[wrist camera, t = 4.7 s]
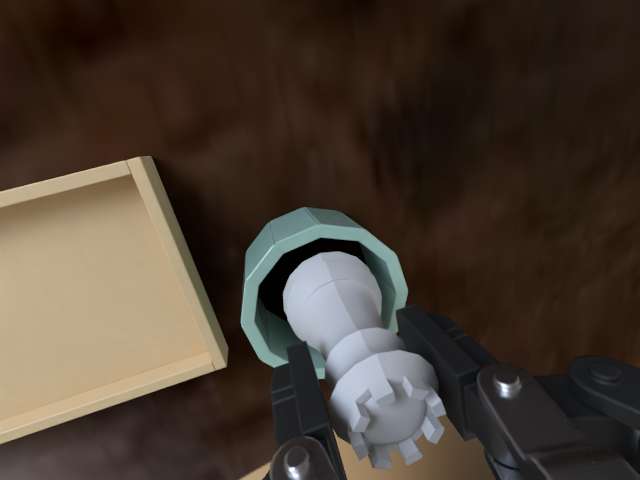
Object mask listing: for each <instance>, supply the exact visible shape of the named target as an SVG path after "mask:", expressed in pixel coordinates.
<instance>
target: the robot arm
mask: <svg viewBox="0 0 640 480" xmlns="http://www.w3.org/2000/svg"><path fill="white" fill-rule="evenodd" d="M395 313H396V320H397V325H398V330H399V335H400V339H402V340H403V343H404V345H405V348H406V350H407V352H410V353H414V354H418V355H420V356H421V357H422V358H424V359H425V360H426V361H427V362H428V363H430V364H431V365H432V366H433V368H434V370H435V373H436V376H437V378H438V381H439V389H438V397H439V398H440V399H441V401H442V404H443V406H444V409H445V411H446V415H447V417H448V418H449V419H450V421H451V422H452V424H453V425H454V426H455V428H456V429H457V431H458V432H459V433H460V435H461V436H462V438H463V439H464V440H465V441H468V440H470V439H473V438H475V437H477V438H478V439H479V440H480V442H481V443H482V444H483V446H484V454H485V458H486V460H487V463H488V465H489V467H490V469H491V471H492V473H493V475H494V477H495V479H496V480H640V439H639V433H640V368H638V367H635V366H632V365H629V364H626V363H623V362H621V361H618V360H615V359H612V358H608V357H604V356H596V355H586V356H580V357H577V358H575V359H573V360H572V361H571V362H570V364H569V368H568V374H562V375H549V376H532V375H531V374H530V373H529V372H527V371H526V370H524V369H522V368H520V367H518V366H515V365H511V364H505V363H499V362H498V361H497V360H496V359H495V358H493V357H492V356H491V355H490V354H489V353H488V352H487V351H486V350H484V349H483V348H482V347H481V346H480V345H479V344H478V343H477V342H475V341H474V340H473V339H472V338H471V337H470V336H467V334H466V333H465V332H464V331H463V330H462V329H461V328H460V329H459V327H458V326H457V325H456V324H455V323H454V322H453V321H452V320H451V319H449V318H448V317H446V316H443V315H441V314H438V313H436V312H434V313H431V314H427V313H426V312H425V311H424V310H423V309H422V308H421V307H420V306H418V305H417V304H412V305H410V306H407V307H404V308H401V309H398V310H396V312H395ZM286 349H287V355H288V361H289V363H286V364H283V365H280V366H277V367H275V369H274V372H273V374H272V377H271V379H270V384H271V394H272V395H271V397H272V405H273V406H272V409H273V421H274V433H275V446H276V452H275V454H274V456H273V458H272V461H271V464H270V469H269V471H268V473H267V474H266V476H265V477H264V478H263V479H262V480H347V478H346V474H345V470H344V467H343V463H342V460H341V456H340V453H339V449H338V446H337V442H336V439H335V435H334V432H333V428H332V426H331V424H330V421H329V414H328V411H327V407H326V404H325V400H324V397H323V393H322V390H321V387H320V383H319V380H318V377H317V373H316V370H315V367H314V364H313V360H312V357H311V354H310V351H309V348H308V344H307V341H303V342H300V343H297V344H294V345H291V346H288V347H286Z"/></svg>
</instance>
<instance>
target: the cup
mask: <svg viewBox="0 0 640 480" xmlns="http://www.w3.org/2000/svg"><path fill="white" fill-rule="evenodd" d="M319 238H329V239H339V240H350V241H359V244H360V247H361V250H362V253H363V255H364V258H365V261H366V264H367V267H368V268H369V270H370V272H371V274H373V275H374V276H375V279H376V281H377V284H378V286H379V289H380V291H381V295H382V303H381V320H382V322H383V324H384V326H385V328H386V329H387V330H389V331H392V332H393V333H394V334H396V333H397V332H398V325H397V320H396V313H395V312H396V310H398V309H401V308H404V307H405V303H406V299H407V295H408V292H407V291H408V288H407V285H406V282H405V279H404V276H403V273H402V269H401V266H400V263H399V260H398V257H397V255H396V254H395V253H394V252H393V251H392V250H391V249H389V248H388V247H387V246H386V245H384V244H383V243H382V242H381V241H379V240H378V239H377V238H376V237H374V236H373V235H372V234H371V233H369V232H368V231H367V230H366V229H364V228H363V227H361V226H360V225H359V224H357V223H356V222H354V221H353V220H351V219H350V218H349V217H347V216H346V215H344V214H343V213H342V212H339V211H334V210H326V209H318V208H309V207H304V208H300V209H297V210H295V211H293V212H290V213H288V214H286V215H283V216H281V217H279V218H276V219H274V220H272V221H270V222H269V223H267V225H266V226H265V227H264V228H263V230H262V231H261V232H260V234H259V235H258V236H257V238H256V239H255V240H254V242H253V243H252V244H251V246H250V247H249V248H248V249H247V252H246V255H245V265H244V275H243V284H242V304H241V326H242V328H243V330H244V332H245V334H246V336H247V337H248V339H249V341H250V343H251V345H252V347H253V348H254V350H255V352H256V354H257V356H258V358H259V359H261V361H263V362H265V363H266V364H268V365H270V366H272V367H274V368H275V367H277V366H280V365H283V364H286V363H289V361H288V355H287V349H286V347H288V346H291V345H294V344H297V343H300V342H303V341H302V340H301V339H299V338H298V337H297V335H296V334H295V332H294V331H293V329H292V327H291V325H290V323H288V322H286V321H284V320H283V319H281V318H279V317H278V316H276V315H274V314H273V313H271V312H269V311H268V310H266V308H265V306H264V304H263V302H262V300H261V298H260V296H259V294H258V289H259V285H260V283H261V282H262V281H263V279H264V278H265V277H266V276H267V274H268V273H269V272H270V270H271V269H272V268H273V266H274V265H275V264H276V263H277V261H278V260H279V259H280V257H281V256H282V255H283V254H284V253H286V252H289V251H291V250H293V249H296V248H298V247H300V246H302V245H305V244H307V243H309V242H312V241H314V240H316V239H319ZM308 348H309V351H310V354H311V357H312V360H313V364H314V367H315V370H316V373H317V377H318V379H325V364H326V362H325V360H324V358H323V356H322V355H321V353H320V352H319V351H318V350H317V349H315V348H312V347H311V346H309V345H308Z"/></svg>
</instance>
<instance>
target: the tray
mask: <svg viewBox="0 0 640 480" xmlns="http://www.w3.org/2000/svg"><path fill="white" fill-rule="evenodd" d="M227 357H228V346H227V343H226V341H225V338H224V336H223V333H222V331H221V328H220V326H219V323H218V321H217V318H216V316H215V313H214V311H213V308H212V306H211V304H210V301H209V299H208V296H207V294H206V291H205V289H204V286H203V284H202V281H201V279H200V276H199V274H198V271H197V269H196V266H195V264H194V261H193V259H192V256H191V254H190V251H189V249H188V246H187V244H186V241H185V239H184V236H183V234H182V231H181V229H180V226H179V224H178V221H177V219H176V216H175V214H174V211H173V209H172V206H171V204H170V202H169V199H168V197H167V194H166V192H165V189H164V187H163V184H162V182H161V179H160V177H159V174H158V172H157V169H156V167H155V164H154V162H153V159H152V157H151V156H144V157H137V158H133V159H129V160H125V161H121V162H117V163H113V164H109V165H105V166H101V167H97V168H93V169H89V170H85V171H81V172H77V173H73V174H69V175H65V176H61V177H57V178H53V179H49V180H45V181H41V182H37V183H34V184H30V185H26V186H22V187H18V188H14V189H10V190H6V191H2V192H0V444H2V443H5V442H8V441H11V440H14V439H17V438H20V437H23V436H26V435H28V434H31V433H34V432H37V431H40V430H43V429H46V428H49V427H52V426H55V425H58V424H61V423H64V422H66V421H69V420H72V419H75V418H78V417H81V416H84V415H87V414H90V413H93V412H96V411H99V410H102V409H104V408H107V407H110V406H113V405H116V404H119V403H122V402H125V401H128V400H131V399H134V398H137V397H139V396H142V395H145V394H148V393H151V392H154V391H157V390H160V389H163V388H166V387H169V386H172V385H175V384H177V383H180V382H183V381H186V380H189V379H192V378H195V377H198V376H201V375H204V374H207V373H210V372H213V371H215V369H216V370H219V369H221V368H224V367H226V366H227Z"/></svg>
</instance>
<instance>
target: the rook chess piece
mask: <svg viewBox="0 0 640 480" xmlns="http://www.w3.org/2000/svg"><path fill="white" fill-rule="evenodd" d="M283 303H284V312H285V313H286V315H287V320H288V322H289V323H290V325H291V327H292V329H293V331H294V332H295V334H296V335H297V337H298V338H299V339H301V340H302V341H307V344H308V345H309V346H311V347H312V348H315V349H317V350H318V351H319V352H320V353H321V355H322V356H323V358H324V360H325V362H326V364H325V382H326V383H327V385H328V387H329V389H330V391H331V393H332V396H331V398H330V400H329V421H330V424H331V426H332V427H333V429H334V431H335V432H336V434H337V436H338V437H339V438H341V439H343V440H345V441H346V442H348V443H349V444H351V445H352V447H353V449H354V451H355V453H356V454H357V456H358V458H359V460H361V459H363V458H364V457H365V456H367V455H368V457H369V459H370V462H371V465H372V467H373V468H377V469H386V470H389V469H390V465H391V462H392V461H391V459H390V456H389V454H388V453H389V452H393V451H398V450H399V451H400V453H401V455H402V457H403V459H404V461H405V463H406V465H407V466H408V465H409V464H411V463H413V462H415V461H416V460H419V459H420V458H422V457H423V455H422V454H421V452H420V450H419V448H418V446H417V444H416V443H415V441H416V440H417V439H418V438H419V437H420V436H421V435H422V434H423V433H424V434H425V436H426V438H427V439H428V441H430V442H432V443H435V444H437V442H438V440H439V438H440V437H441V435H442V433H443V431H444V427H443V426H442V424H441V423H440V421H439V420H438V419H437V417H439V416H442V415H444V414H446V411H445V409H444V406H443V404H442V401H441V399H440V398H439V397H438V389H439V381H438V378H437V376H436V373H435V370H434V368H433V366H432V365H431V364H430V363H428V362H427V361H426V360H425V359H424V358H422V357H421V356H420V355H418V354H414V353H410V352H407V350H406V348H405V345H404V343H403V340H402V339H400V338H399V337H398V336H397V335H396V334H394V333H393V332H392V331H389V330H387V329H386V328H385V326H384V324H383V322H382V320H381V303H382V295H381V291H380V289H379V286H378V284H377V281H376V279H375V276H374V275H373V274H371V272H370V270H369V268H368V267H367V266H366V265H365V264H364V263H363V262H362V261H360V260H359V259H358V258H357V257H356V256H352V255H349V254H346V253H343V252H340V251H337V252H326V253H319V254H317V255H315V256H313V257H311V258H309V259H307V260H305V261H303V262H302V263H301V264H300V265H299V266H298V267H297V268H296V269H295V270H294V272H293V273H292V274H291V275H290V276H289V278H288V281H287V284H286V286H285V289H284V292H283Z"/></svg>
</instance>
